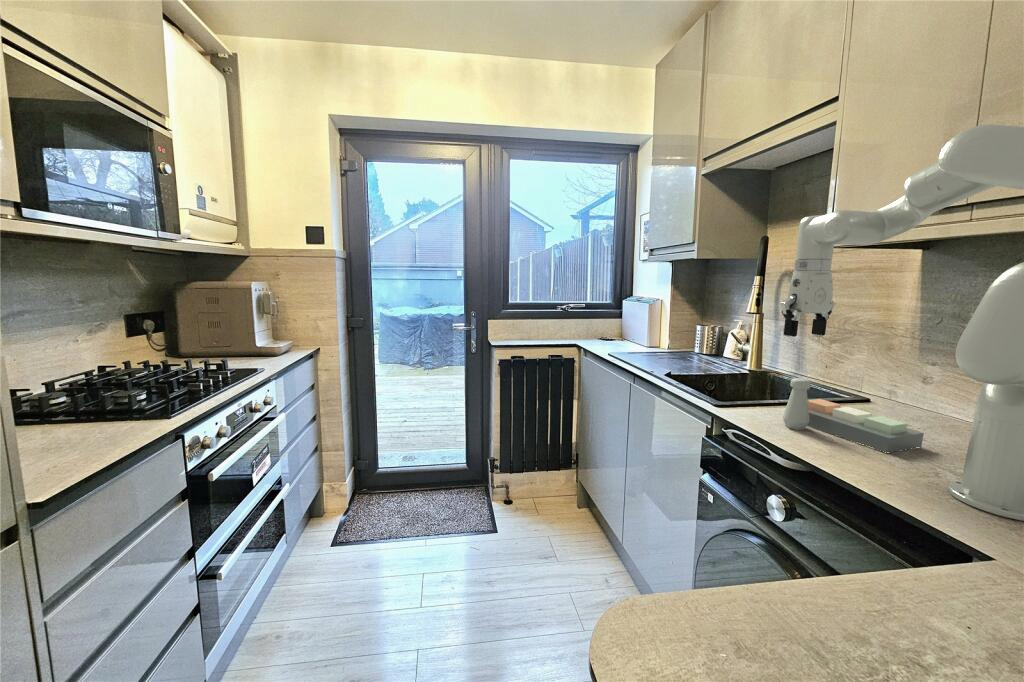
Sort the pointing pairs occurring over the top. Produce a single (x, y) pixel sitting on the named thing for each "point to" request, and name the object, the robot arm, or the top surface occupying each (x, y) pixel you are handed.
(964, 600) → the top surface
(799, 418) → the salt shaker
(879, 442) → the keypad
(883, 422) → the key sage
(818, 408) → the key terracotta
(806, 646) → the top surface
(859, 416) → the key cream
